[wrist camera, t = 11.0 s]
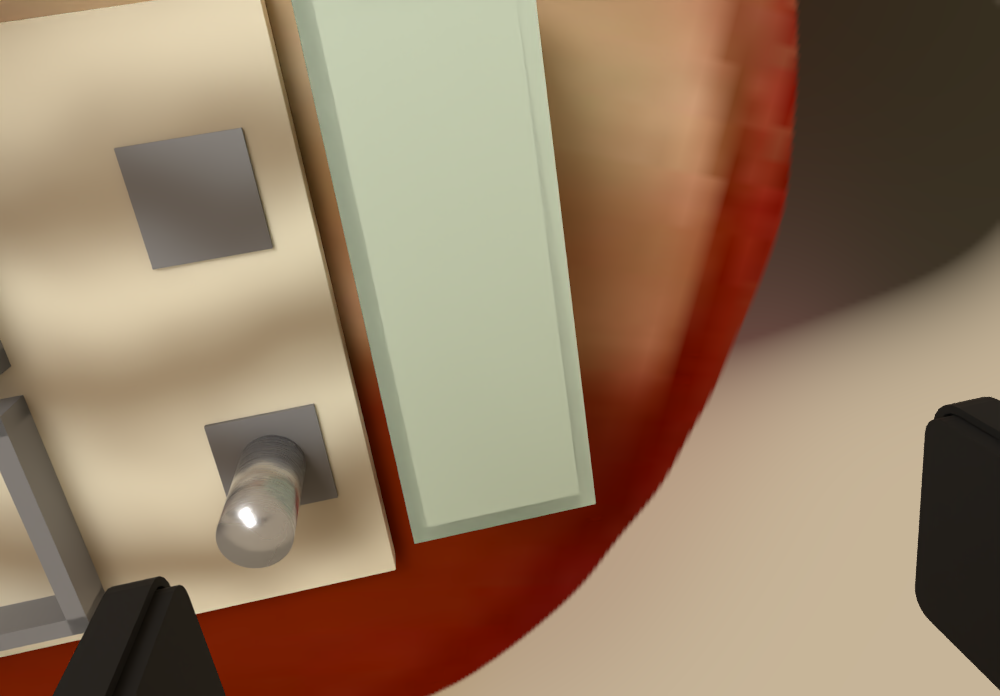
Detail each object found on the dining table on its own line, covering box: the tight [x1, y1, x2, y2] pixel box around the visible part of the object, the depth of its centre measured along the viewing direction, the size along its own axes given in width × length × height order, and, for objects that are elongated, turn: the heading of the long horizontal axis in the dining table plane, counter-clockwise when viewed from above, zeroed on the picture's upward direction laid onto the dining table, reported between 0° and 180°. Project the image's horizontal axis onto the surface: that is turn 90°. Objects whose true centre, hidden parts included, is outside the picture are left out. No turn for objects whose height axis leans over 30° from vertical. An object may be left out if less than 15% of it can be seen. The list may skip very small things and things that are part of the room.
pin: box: [216, 435, 306, 568], centre depth 27 cm, size 2×2×5 cm
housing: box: [291, 0, 596, 544], centre depth 25 cm, size 16×6×7 cm, turn 8°
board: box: [0, 0, 396, 657], centre depth 27 cm, size 22×20×1 cm
